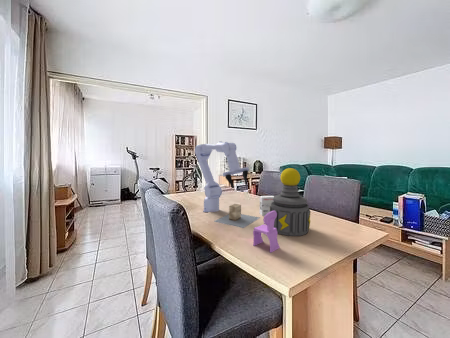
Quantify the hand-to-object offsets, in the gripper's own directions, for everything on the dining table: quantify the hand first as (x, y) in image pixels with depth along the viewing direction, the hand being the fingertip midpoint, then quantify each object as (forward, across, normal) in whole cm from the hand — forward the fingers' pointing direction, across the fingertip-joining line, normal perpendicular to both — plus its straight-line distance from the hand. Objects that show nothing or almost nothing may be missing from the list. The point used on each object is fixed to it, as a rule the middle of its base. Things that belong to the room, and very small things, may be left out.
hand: (239, 186), depth 116 cm
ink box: (+20, +14, +12) cm, 27 cm away
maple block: (+16, -6, +6) cm, 18 cm away
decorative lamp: (+28, +16, -9) cm, 33 cm away
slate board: (+17, -5, +5) cm, 19 cm away
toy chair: (+29, -2, -25) cm, 38 cm away
